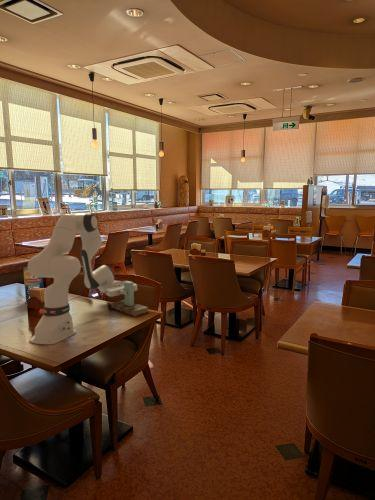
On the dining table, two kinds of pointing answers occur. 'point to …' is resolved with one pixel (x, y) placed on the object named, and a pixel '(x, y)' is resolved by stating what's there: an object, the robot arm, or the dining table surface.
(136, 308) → the grey slab with hole
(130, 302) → the pale green tall block
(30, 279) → the beverage box
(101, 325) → the dining table surface
